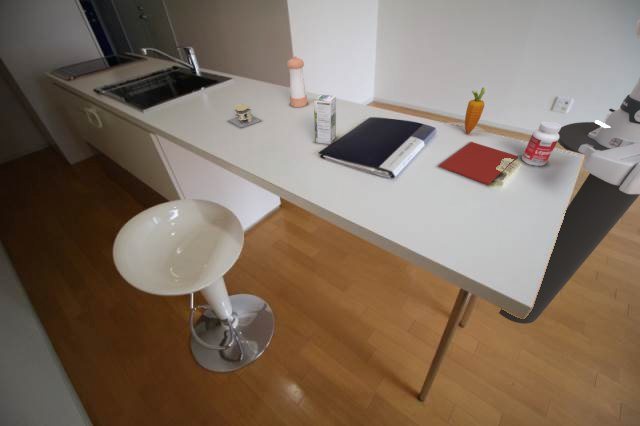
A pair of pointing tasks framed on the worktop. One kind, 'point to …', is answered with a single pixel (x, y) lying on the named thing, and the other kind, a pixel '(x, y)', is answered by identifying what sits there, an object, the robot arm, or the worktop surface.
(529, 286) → the worktop surface
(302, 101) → the pepper shaker
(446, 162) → the red pad
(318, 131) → the syrup box
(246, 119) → the stacked layers on plate
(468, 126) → the carrot
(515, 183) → the worktop surface
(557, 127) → the pill bottle
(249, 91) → the worktop surface
